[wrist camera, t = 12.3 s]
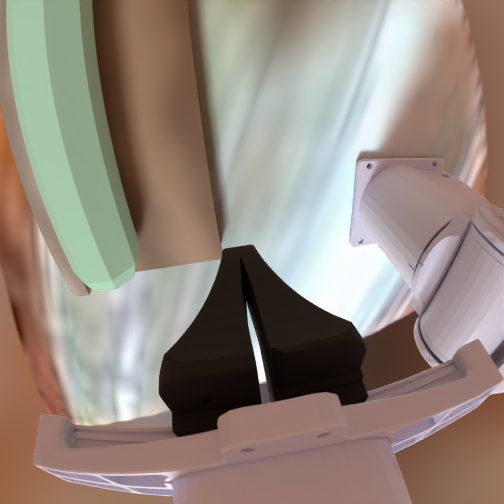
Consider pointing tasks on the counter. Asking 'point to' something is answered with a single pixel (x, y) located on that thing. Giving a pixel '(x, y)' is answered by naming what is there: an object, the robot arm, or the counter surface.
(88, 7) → the container
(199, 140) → the shelf
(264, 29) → the counter surface
